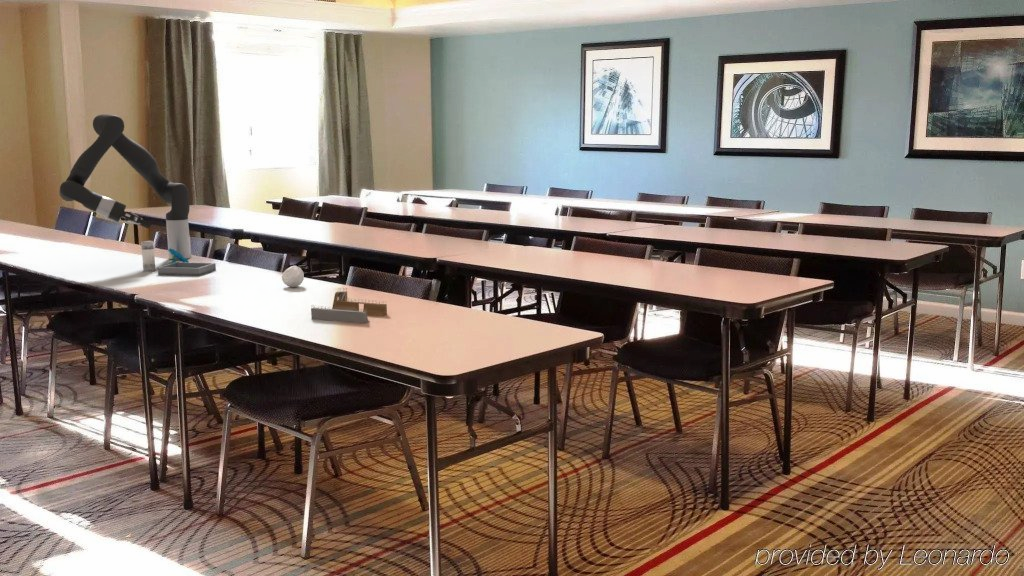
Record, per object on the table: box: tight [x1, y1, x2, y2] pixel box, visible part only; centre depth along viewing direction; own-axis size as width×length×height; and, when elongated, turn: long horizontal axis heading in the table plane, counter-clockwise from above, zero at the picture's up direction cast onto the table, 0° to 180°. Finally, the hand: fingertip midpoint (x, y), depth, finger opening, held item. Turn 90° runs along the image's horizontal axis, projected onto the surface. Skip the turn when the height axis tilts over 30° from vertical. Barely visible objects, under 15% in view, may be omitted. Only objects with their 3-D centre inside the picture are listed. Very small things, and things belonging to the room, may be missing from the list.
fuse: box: [140, 240, 156, 273], centre depth 382 cm, size 5×5×12 cm
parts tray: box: [157, 261, 217, 277], centre depth 378 cm, size 14×18×3 cm
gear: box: [167, 248, 189, 264], centre depth 397 cm, size 11×6×10 cm
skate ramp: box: [310, 287, 388, 325], centre depth 297 cm, size 29×35×8 cm
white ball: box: [281, 265, 305, 288], centre depth 344 cm, size 8×8×8 cm
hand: (150, 226), depth 383 cm, fingers open, 8 cm apart
